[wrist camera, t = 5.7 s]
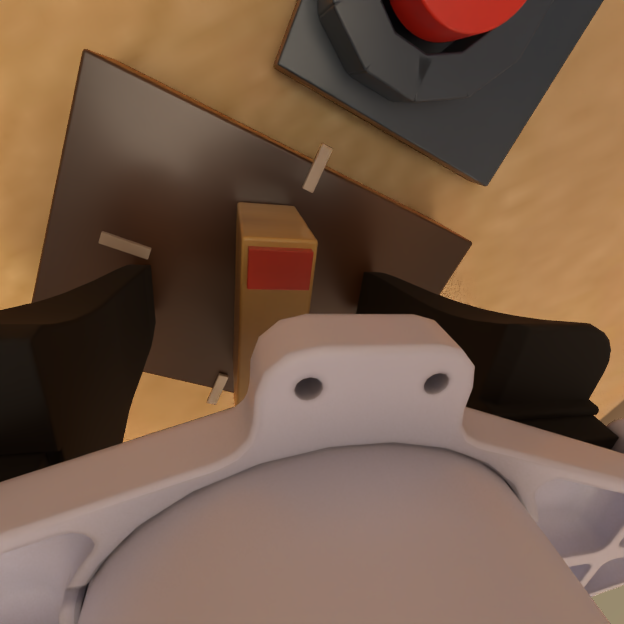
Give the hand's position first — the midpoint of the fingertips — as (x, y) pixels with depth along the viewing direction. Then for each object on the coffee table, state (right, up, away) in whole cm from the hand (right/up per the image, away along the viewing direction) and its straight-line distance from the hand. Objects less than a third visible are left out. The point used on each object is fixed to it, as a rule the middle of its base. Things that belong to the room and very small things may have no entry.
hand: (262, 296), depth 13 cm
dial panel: (-1, +2, +3) cm, 3 cm away
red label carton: (0, 0, 0) cm, 0 cm away
